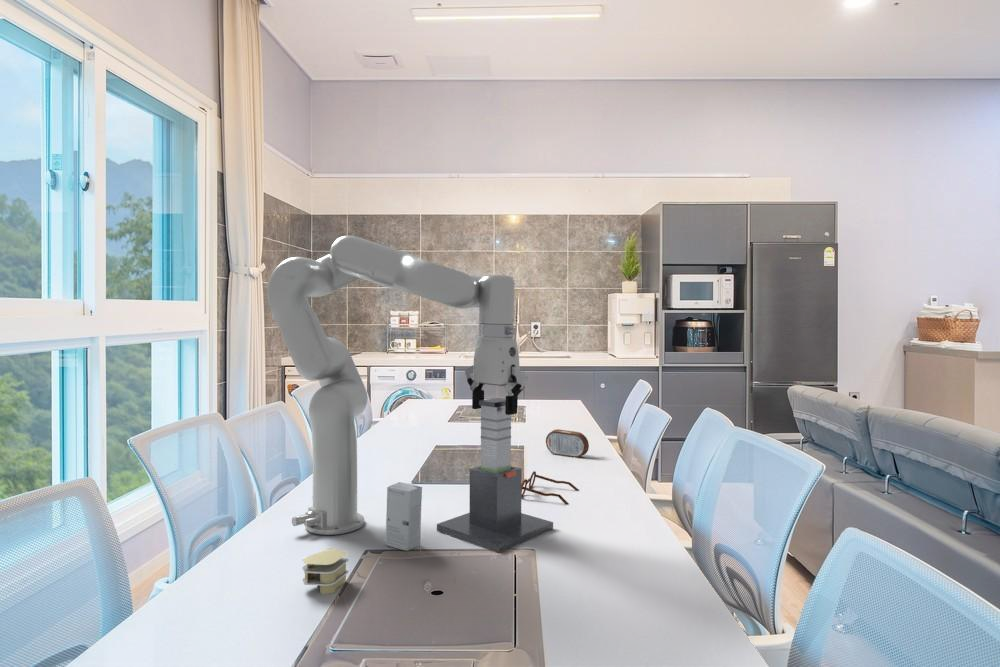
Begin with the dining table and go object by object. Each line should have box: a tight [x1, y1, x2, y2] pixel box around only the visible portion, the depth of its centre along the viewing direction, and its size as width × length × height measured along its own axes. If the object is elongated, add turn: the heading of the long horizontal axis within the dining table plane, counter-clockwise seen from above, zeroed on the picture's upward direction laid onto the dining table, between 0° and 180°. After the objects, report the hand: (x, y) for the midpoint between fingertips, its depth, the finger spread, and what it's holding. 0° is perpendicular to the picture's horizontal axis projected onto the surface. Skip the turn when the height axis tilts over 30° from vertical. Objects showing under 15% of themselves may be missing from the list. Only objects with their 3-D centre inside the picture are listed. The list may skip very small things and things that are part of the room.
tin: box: [545, 428, 590, 459], centre depth 201 cm, size 15×3×8 cm, turn 58°
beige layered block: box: [302, 548, 349, 595], centre depth 103 cm, size 10×9×6 cm
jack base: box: [436, 465, 554, 553], centre depth 131 cm, size 18×18×14 cm
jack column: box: [479, 397, 512, 474], centre depth 131 cm, size 6×5×21 cm
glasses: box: [521, 470, 580, 505], centre depth 157 cm, size 13×13×5 cm
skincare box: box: [385, 481, 423, 552], centre depth 122 cm, size 6×4×12 cm
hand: (494, 411), depth 130 cm, fingers open, 9 cm apart
